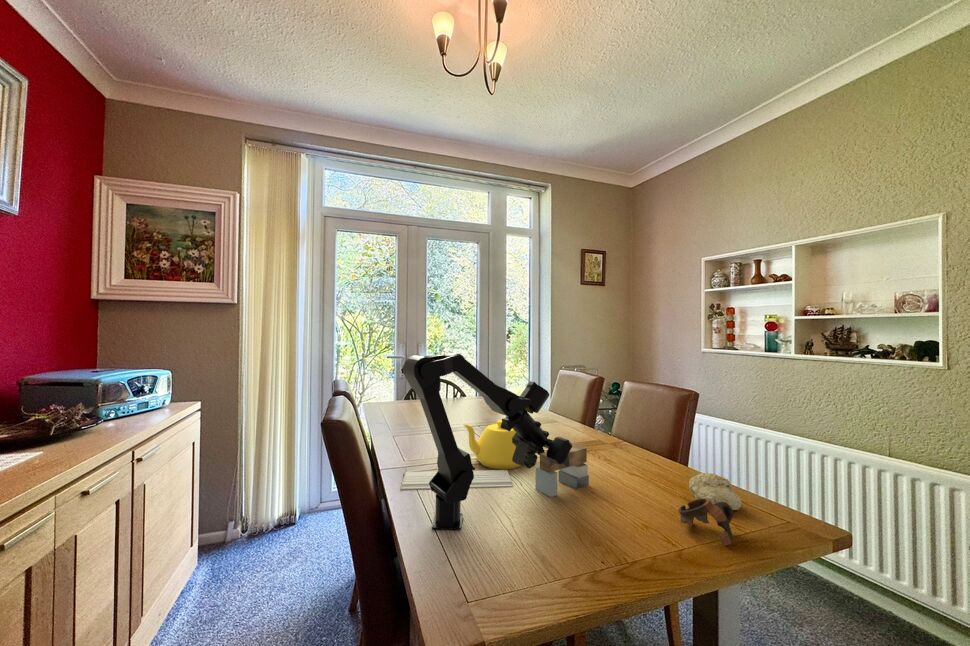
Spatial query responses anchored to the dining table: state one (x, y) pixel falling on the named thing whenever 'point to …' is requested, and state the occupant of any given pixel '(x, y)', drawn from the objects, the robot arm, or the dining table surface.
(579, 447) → the batten
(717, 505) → the dark curved fragment
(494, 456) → the teapot
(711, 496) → the decorative item
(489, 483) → the baseboard molding
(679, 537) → the dining table surface
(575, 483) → the grey stepped block
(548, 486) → the light gray rectangular block
